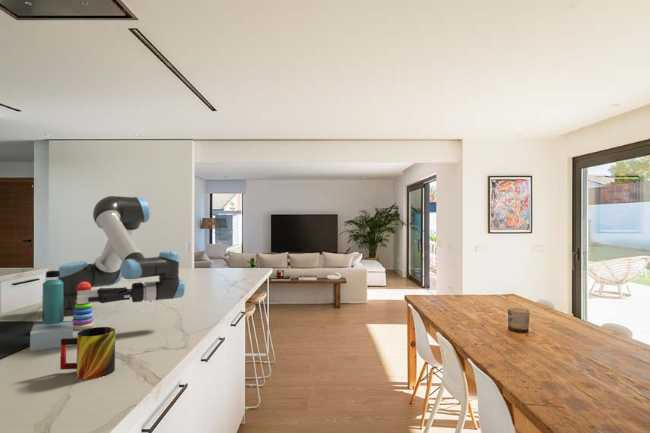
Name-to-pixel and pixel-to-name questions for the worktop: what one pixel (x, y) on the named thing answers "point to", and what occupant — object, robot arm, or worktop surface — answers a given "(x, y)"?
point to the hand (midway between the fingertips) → (77, 297)
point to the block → (50, 335)
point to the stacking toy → (83, 311)
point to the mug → (91, 352)
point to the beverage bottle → (53, 300)
